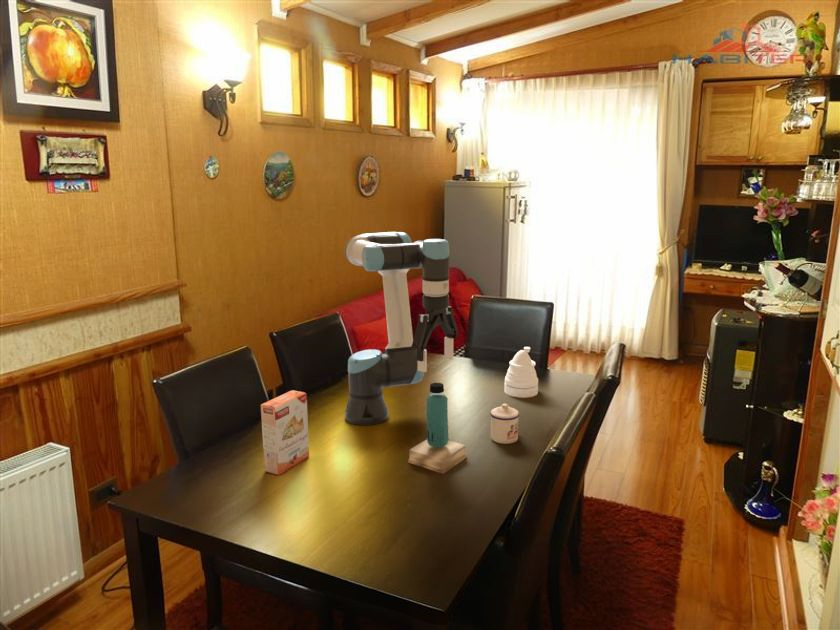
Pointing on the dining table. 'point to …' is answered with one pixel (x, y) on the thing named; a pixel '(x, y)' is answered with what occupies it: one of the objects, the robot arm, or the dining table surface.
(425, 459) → the tan flat square block
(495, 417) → the teacup with lid
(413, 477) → the dining table surface
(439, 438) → the beverage bottle
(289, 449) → the cracker box
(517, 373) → the honey pot
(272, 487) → the dining table surface
